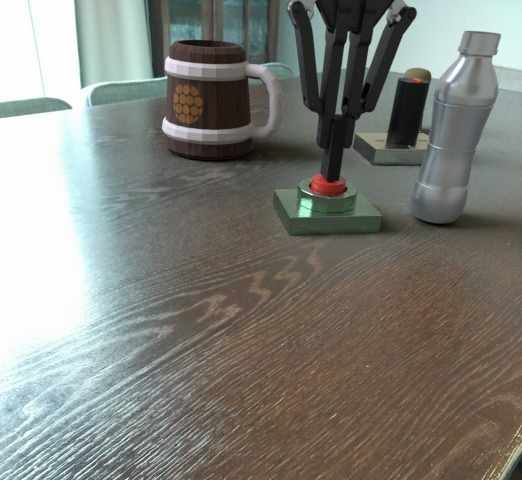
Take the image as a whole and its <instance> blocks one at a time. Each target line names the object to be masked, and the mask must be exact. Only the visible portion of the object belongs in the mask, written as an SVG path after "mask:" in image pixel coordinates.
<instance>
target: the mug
mask: <svg viewBox="0 0 522 480" xmlns="http://www.w3.org/2000/svg"><path fill="white" fill-rule="evenodd" d="M168 52H169V54H168V56H167V57H166V58H165V61H164V71H165V72H166V73H167V80H166V81H167V82H166V103H165V117H164V118H163V119H162V126H161V130H162V132H163V133H164V134H163V135H164V137H163V144H164V146H165V147H166V148H167V149H168V150H169V151H170V152H171V153H172V154H174V155H177V156H179V157H183V158H187V159H191V160H200V161H201V160H202V161H223V160H224V161H225V160H231V159H237V158H241V157H243V156H245V155H247V154H248V153H249V152H250V151H251V149H252V148H253V147H254V141H253V140H258V141H260V140H261V141H262V140H267V139H269V138H270V137H271V136H273V135H274V134H276V133H277V132H278V131H279V128H280V125H281V122H282V118H283V100H284V99H283V89H282V87H281V84H280V82H279V79H278V76H276V74H275V73H274V72H273V71H272V70H271V69H270V67H268V66H265V65H260V64H255V63H250V62H249V61H248V60H247V53H246V49H244V47H243V46H242V45H241V44H239V43H236V42H232V41H223V40H213V39H179V40H175V41H173V42H172V44H171V45H170V46H169V51H168ZM249 79H252V80H260V81H261V82H262V83H263V84H264V85H265V88H266V90H267V92H268V95H269V113H268V114H269V115H268V120H267V123H266V124H265V125H264V126H255V125H254V122H253V120H252V119H251V102H250V87H249V86H250V85H249Z"/></svg>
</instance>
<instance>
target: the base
mask: <svg viewBox="0 0 522 480" xmlns="http://www.w3.org/2000/svg"><path fill="white" fill-rule="evenodd" d="M387 133H388V132H354V136H353V142H352V148H353V149H354V150H355V151H356V152H357V153H358V154H360V155H361V156H362V157H363V158H365V160H367V161H368V162H369V163H370V164H371V165H372V166H421V165H422V162H423V159H424V156H425V153H426V149H427V144H428V141H429V134H428V135H427V134H426V133H424V132H421V133H419V134H418V138H417V142H416V143H414V144H398V143H394V142H391V141H388V140H387Z"/></svg>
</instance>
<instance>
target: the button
mask: <svg viewBox="0 0 522 480" xmlns="http://www.w3.org/2000/svg"><path fill="white" fill-rule="evenodd" d="M311 178H312V183H311V189H312V190H314V191H316V192H320V193H326V194H340V193H344V192H345V186H346V182H347V179H346V178H345V177H344V176H341V175H340V178H339V181H326V180H325V178H324V177H323V176H322V175H321V174H320V173H317V174H314V175H313V176H312V177H311Z"/></svg>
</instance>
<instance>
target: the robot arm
mask: <svg viewBox="0 0 522 480" xmlns="http://www.w3.org/2000/svg"><path fill="white" fill-rule="evenodd" d="M314 6H316V8H317V11H318V12H319V15H320V17H321V19H322V22H323V23H324V26H325V32H324V40H325V46H324V55H323V64H322V70H321V71H322V73H321V79H320V80H321V81H320V88H319V81H318V71H317V70H318V69H317V60H316V50H315V49H316V48H315V39H314V31H313V26H312V22H311V21H312V19H313V18H314V16H315V11H314ZM285 10H286V13H287V16H288V18H289V20H290V22H291V24H292V26H293V28H294V37H295V44H296V54H297V62H298V70H299V79H300V88H301V95H302V103H303V105H304V107H306V108H307V109H308V110H309V111H310V112H312V113H316V114H317V115H318V121H317V129H316V138H315V142H316V145H317V147H318V148H319V149H320V150H322V154H321V155H322V156H321V161H320V163H321V164H320V171H319V174H321V175H322V176H323V177H324V178H325V180H326V181H339V178H340V176H341V169H342V164H343V163H342V162H343V157H344V150H347V149H351V147H352V146H353V142H354V135H355V127H356V121H358V120H360V118H361V117H362V115H364V114H367V113H373V112H374V111H375V109H376V108H377V105H378V102H379V100H380V97H381V94H382V92H383V89H384V87H385V83H386V81H387V78H388V76H389V73H390V70H391V67H392V65H393V63H394V60H395V57H396V55H397V53H398V50H399V47H400V44H401V42H402V39H403V37H404V35H405V33H406V32H407V31H408V30H409V28H410V26H411V25H412V23H413V22H414V21H415V20H416V18H417V16H418V15H417V14H418V11H417V8H416V7H414V6H409V5H408V4H407V3H406V2H405V0H288V1H287V2H286V4H285ZM384 15H386V17H385V20H386V24H385V26H384V28H383V30H382V32H381V34H380V37H379V40H378V43H377V46H376V48H375V51H374V54H373V57H372V60H371V62H370V65H369V68H368V71H367V74H366V67H367V63H368V62H367V61H368V56H369V55H368V54H369V49H370V45H372V41H373V35H374V29H375V27H376V26H377V24H379V22H380V21H381V19H382V18H383V17H384ZM347 40H348V42H349V44H348V45H349V47H348V53H347V60H346V68H345V76H344V81H343V89H342V90H343V91H342V97H341V105H340V111H341V113H337V112H336V111H337V106H338V104H337V103H338V96H339V89H340V83H341V75H342V68H343V59H344V51H345V46H346V43H347ZM365 74H366V76H365ZM319 90H320V91H319Z"/></svg>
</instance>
